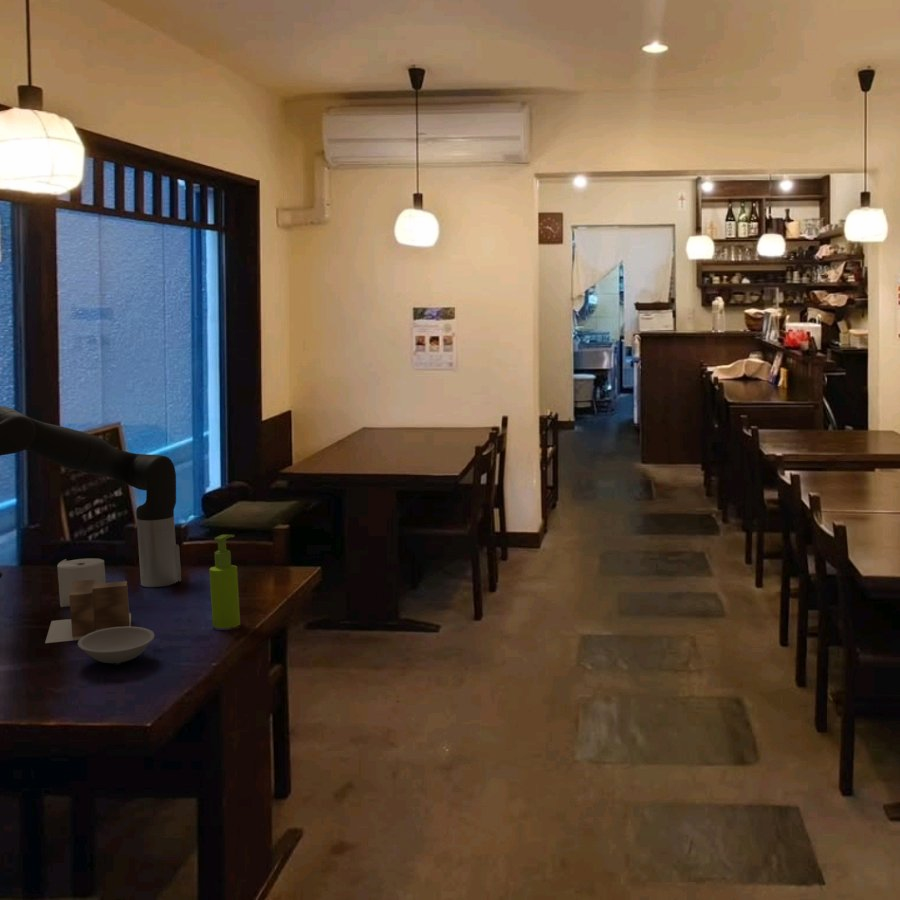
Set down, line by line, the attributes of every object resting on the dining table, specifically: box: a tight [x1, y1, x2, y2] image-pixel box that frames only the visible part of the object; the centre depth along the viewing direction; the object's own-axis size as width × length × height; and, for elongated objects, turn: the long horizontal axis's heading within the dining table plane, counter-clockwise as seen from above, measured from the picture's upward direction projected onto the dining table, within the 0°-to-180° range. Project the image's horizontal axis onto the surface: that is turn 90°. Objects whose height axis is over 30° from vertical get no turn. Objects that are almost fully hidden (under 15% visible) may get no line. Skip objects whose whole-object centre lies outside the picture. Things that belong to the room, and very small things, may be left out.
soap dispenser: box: [209, 534, 241, 628], centre depth 235 cm, size 6×7×20 cm
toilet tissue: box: [57, 558, 107, 608], centre depth 259 cm, size 11×12×10 cm
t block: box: [69, 580, 130, 637], centre depth 234 cm, size 12×13×9 cm
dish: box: [77, 625, 156, 664], centre depth 211 cm, size 18×14×5 cm
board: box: [44, 612, 132, 644], centre depth 236 cm, size 30×18×1 cm, turn 106°
